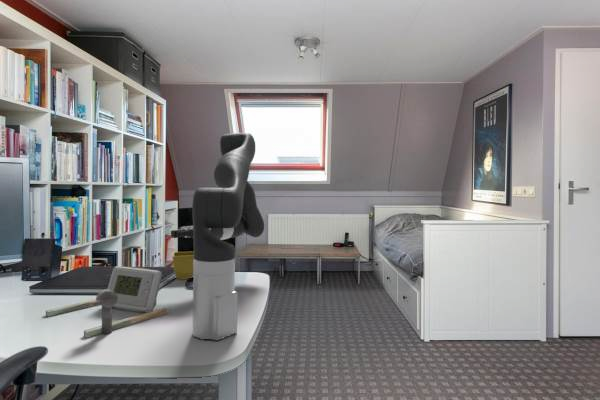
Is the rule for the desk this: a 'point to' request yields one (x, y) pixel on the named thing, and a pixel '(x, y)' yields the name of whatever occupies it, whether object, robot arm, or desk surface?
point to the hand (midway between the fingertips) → (172, 234)
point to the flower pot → (183, 264)
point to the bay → (106, 313)
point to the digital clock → (135, 288)
